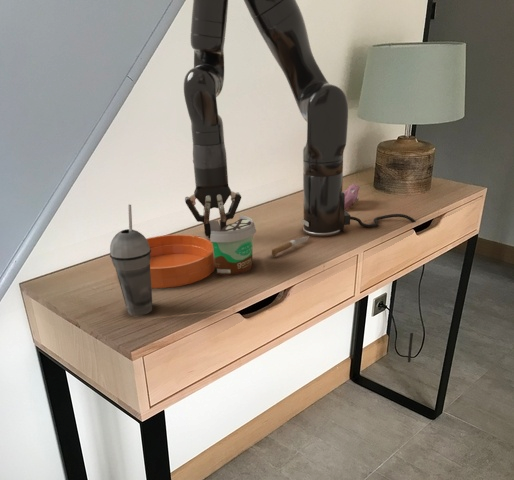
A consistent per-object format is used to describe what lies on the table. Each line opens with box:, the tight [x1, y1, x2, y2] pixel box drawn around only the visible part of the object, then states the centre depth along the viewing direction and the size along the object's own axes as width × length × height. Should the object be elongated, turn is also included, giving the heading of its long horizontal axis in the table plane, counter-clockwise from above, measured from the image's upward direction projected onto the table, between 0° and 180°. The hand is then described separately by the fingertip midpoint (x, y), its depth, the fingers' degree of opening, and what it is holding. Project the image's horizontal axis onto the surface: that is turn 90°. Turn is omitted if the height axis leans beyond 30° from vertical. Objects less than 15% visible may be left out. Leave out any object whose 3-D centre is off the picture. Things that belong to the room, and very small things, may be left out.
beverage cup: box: [109, 204, 153, 316], centre depth 103 cm, size 7×7×20 cm
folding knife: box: [271, 235, 310, 258], centre depth 132 cm, size 14×2×2 cm, turn 138°
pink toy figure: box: [343, 183, 360, 210], centre depth 158 cm, size 10×5×7 cm, turn 168°
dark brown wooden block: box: [208, 220, 221, 240], centre depth 139 cm, size 5×15×3 cm, turn 10°
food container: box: [209, 214, 257, 277], centre depth 120 cm, size 12×6×10 cm, turn 151°
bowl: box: [146, 234, 216, 289], centre depth 124 cm, size 20×20×4 cm
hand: (216, 236), depth 139 cm, fingers closed on dark brown wooden block, 2 cm apart
